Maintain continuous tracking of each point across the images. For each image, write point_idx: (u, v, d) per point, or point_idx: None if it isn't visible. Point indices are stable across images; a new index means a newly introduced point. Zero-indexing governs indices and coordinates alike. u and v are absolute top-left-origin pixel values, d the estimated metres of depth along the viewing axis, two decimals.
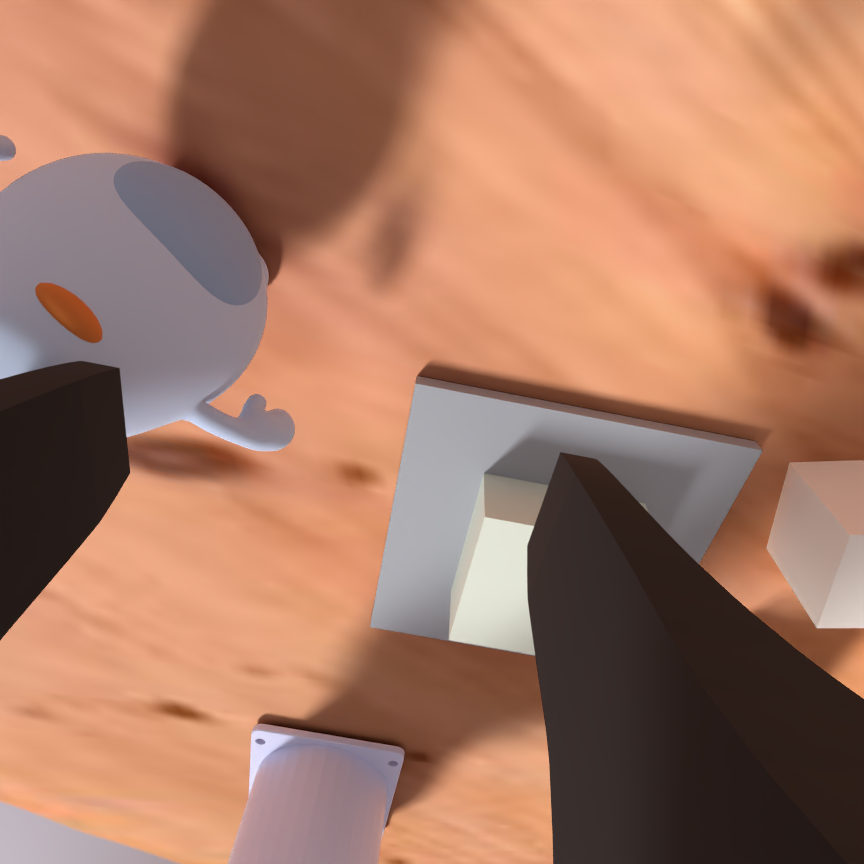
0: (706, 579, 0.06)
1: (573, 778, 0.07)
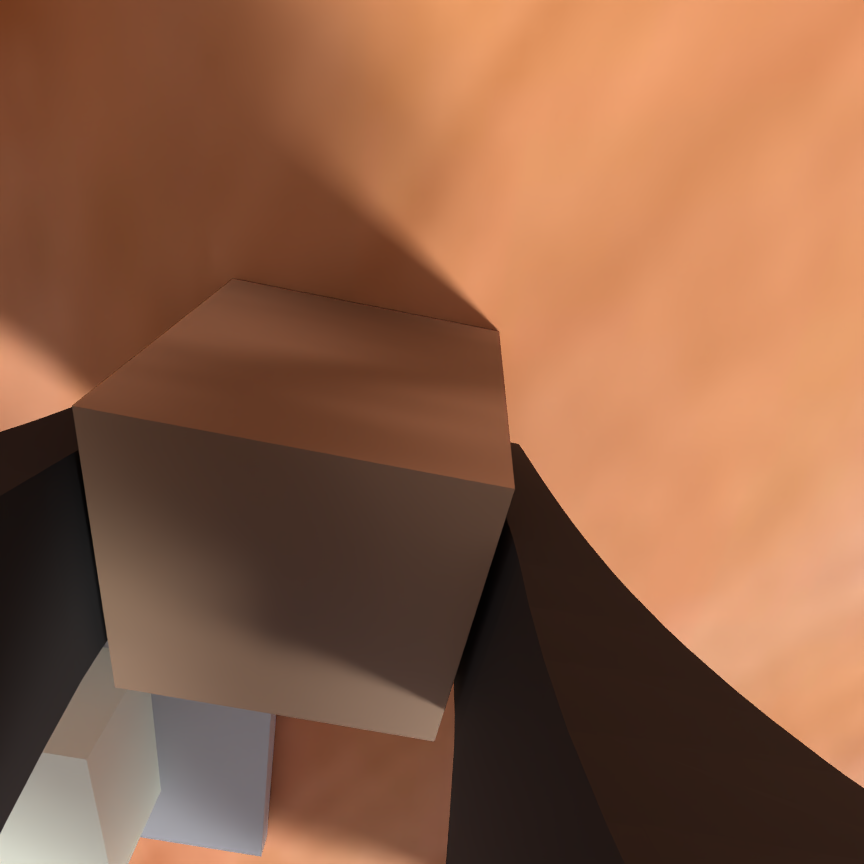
0: (591, 558, 0.06)
1: (466, 760, 0.07)
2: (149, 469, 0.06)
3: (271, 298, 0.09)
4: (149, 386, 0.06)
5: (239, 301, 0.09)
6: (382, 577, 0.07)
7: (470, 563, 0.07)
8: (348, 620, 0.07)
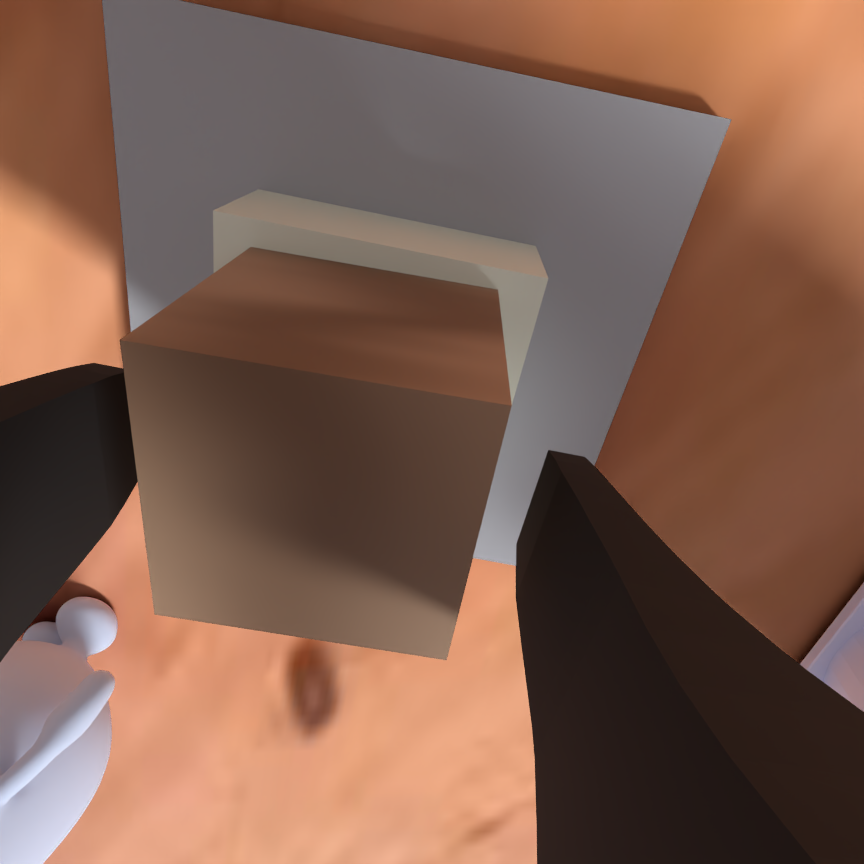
0: (689, 576, 0.06)
1: (557, 775, 0.07)
2: (187, 398, 0.07)
3: (286, 262, 0.10)
4: (184, 326, 0.07)
5: (258, 264, 0.10)
6: (394, 496, 0.07)
7: (474, 479, 0.07)
8: (366, 540, 0.08)
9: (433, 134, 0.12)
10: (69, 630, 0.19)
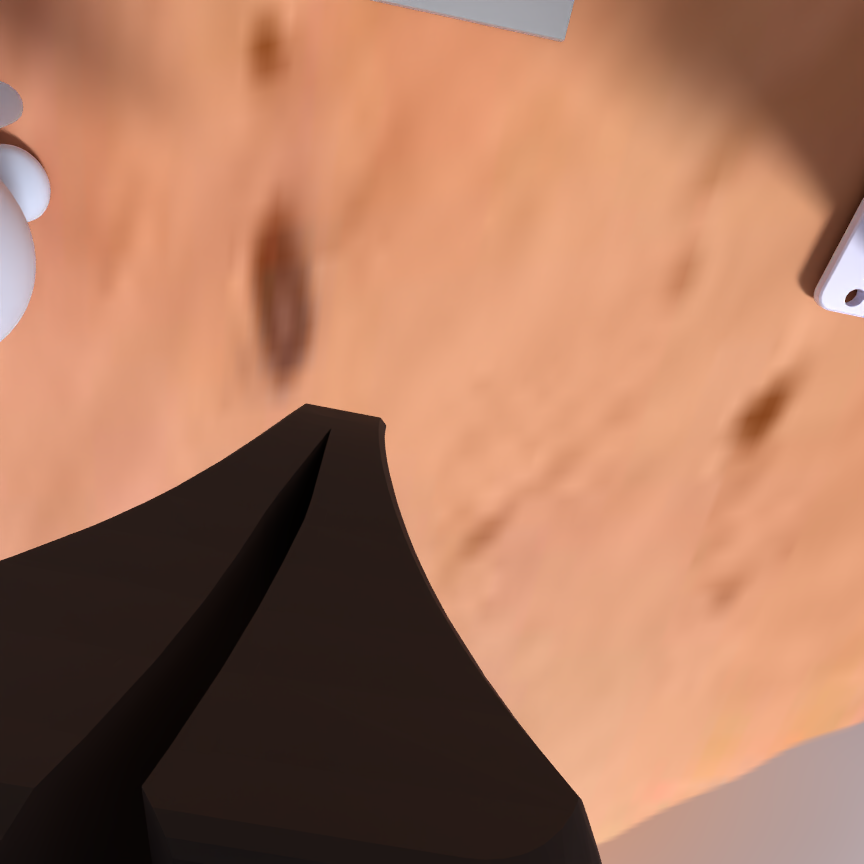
0: (387, 520, 0.06)
1: None
2: None
3: None
4: None
5: None
6: None
7: None
8: None
9: None
10: None
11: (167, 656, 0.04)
